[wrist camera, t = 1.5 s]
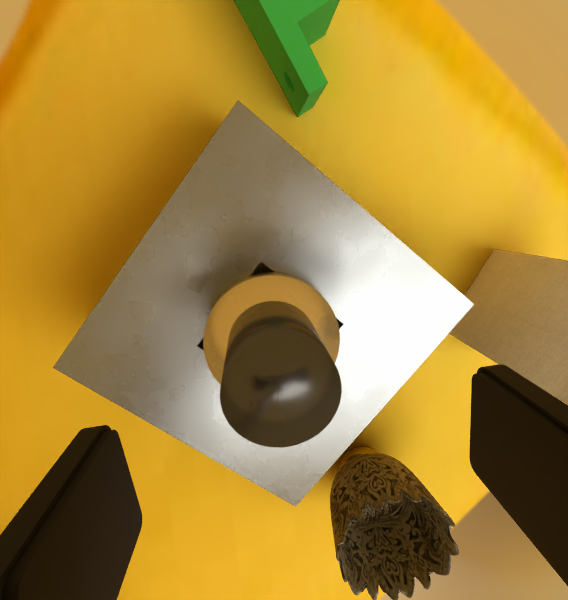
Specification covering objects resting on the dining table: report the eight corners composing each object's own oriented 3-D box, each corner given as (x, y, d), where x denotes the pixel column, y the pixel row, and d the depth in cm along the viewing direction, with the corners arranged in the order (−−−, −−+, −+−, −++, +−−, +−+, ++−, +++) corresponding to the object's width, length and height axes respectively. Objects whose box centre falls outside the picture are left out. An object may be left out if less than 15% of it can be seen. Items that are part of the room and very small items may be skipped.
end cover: (276, 375, 25) (296, 503, 14) (194, 320, 23) (146, 416, 12) (337, 299, 24) (410, 373, 13) (256, 237, 22) (263, 262, 11)
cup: (306, 432, 27) (329, 520, 20) (398, 412, 28) (455, 490, 20) (322, 508, 29) (348, 615, 22) (407, 488, 30) (462, 586, 22)
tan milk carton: (442, 329, 26) (554, 398, 17) (494, 248, 25) (646, 273, 15) (480, 349, 27) (608, 426, 17) (532, 272, 26) (700, 308, 16)
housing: (285, 444, 27) (295, 506, 22) (100, 329, 24) (53, 367, 18) (422, 282, 25) (474, 304, 19) (241, 129, 22) (238, 100, 16)
